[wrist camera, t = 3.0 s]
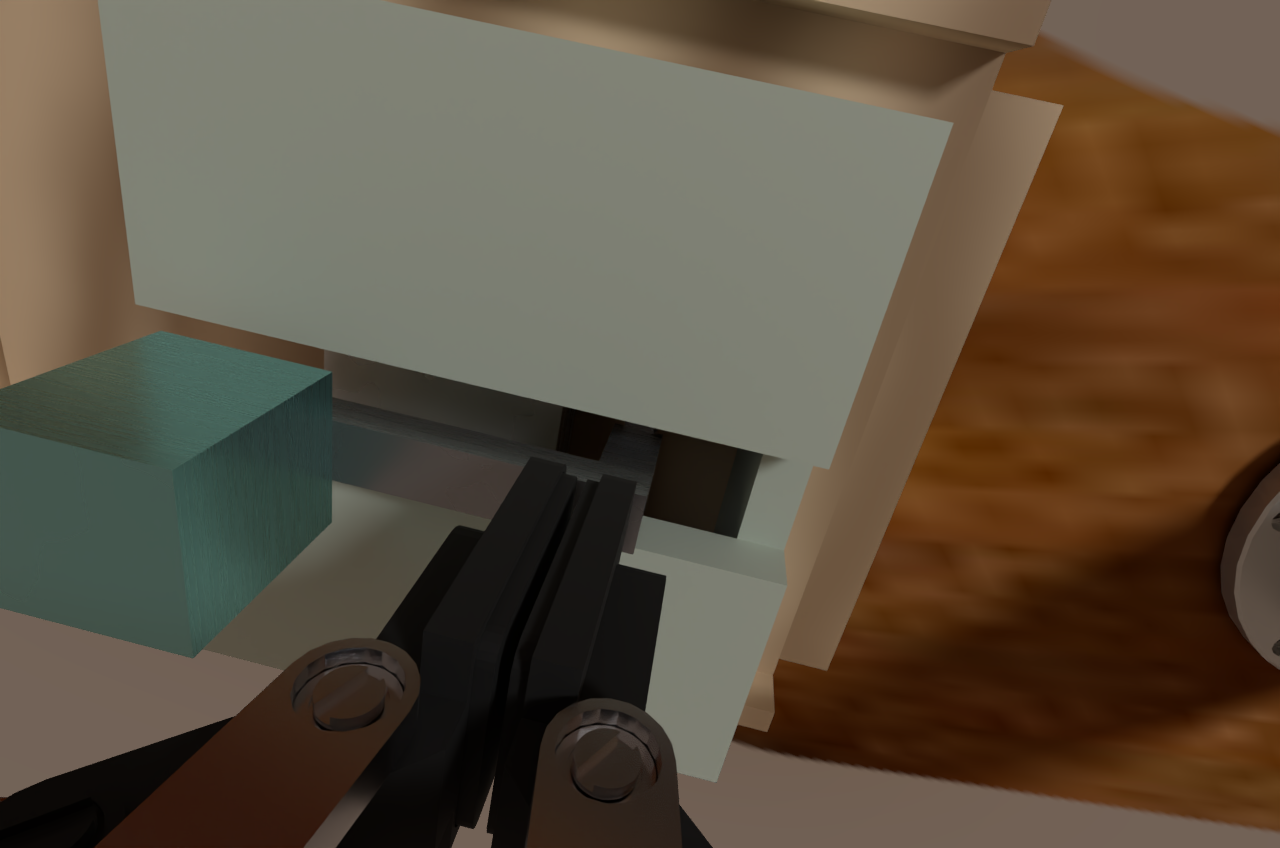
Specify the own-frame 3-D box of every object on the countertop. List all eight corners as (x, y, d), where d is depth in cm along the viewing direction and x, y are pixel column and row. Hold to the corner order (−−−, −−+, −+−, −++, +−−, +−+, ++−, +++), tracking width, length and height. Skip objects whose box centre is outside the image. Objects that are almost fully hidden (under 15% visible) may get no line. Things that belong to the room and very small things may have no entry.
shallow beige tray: (985, 53, 20) (1137, 13, 12) (796, 572, 28) (816, 744, 20) (113, -129, 21) (-247, -270, 13) (172, 419, 29) (-32, 527, 21)
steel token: (602, 249, 17) (585, 264, 15) (566, 460, 19) (548, 496, 18) (368, 195, 17) (323, 204, 15) (362, 411, 20) (324, 441, 18)
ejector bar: (722, 187, 16) (691, 286, 6) (638, 545, 20) (546, 913, 11) (363, 108, 16) (-149, 95, 7) (356, 476, 20) (34, 773, 11)
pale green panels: (881, 121, 15) (953, 123, 10) (723, 617, 21) (716, 782, 16) (308, -2, 15) (89, -62, 10) (314, 515, 21) (177, 642, 16)
